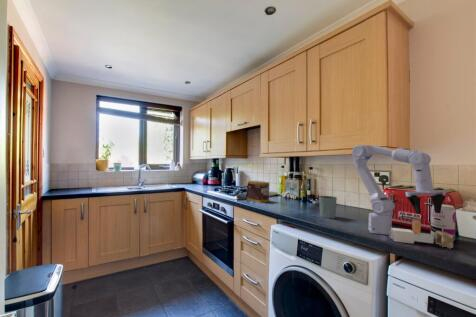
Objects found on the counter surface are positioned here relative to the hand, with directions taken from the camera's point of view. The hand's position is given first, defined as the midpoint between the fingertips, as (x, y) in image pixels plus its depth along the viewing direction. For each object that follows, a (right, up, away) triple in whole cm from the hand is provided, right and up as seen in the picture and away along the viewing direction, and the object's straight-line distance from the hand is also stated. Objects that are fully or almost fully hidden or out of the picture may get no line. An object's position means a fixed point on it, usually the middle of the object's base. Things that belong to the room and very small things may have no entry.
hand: (428, 213), depth 98 cm
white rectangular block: (-8, -13, +3) cm, 15 cm away
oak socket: (+5, -13, -1) cm, 14 cm away
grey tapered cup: (-25, -13, +45) cm, 53 cm away
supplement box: (-63, -12, +95) cm, 115 cm away
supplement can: (+12, -13, +7) cm, 20 cm away
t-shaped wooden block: (-6, -13, +2) cm, 14 cm away
